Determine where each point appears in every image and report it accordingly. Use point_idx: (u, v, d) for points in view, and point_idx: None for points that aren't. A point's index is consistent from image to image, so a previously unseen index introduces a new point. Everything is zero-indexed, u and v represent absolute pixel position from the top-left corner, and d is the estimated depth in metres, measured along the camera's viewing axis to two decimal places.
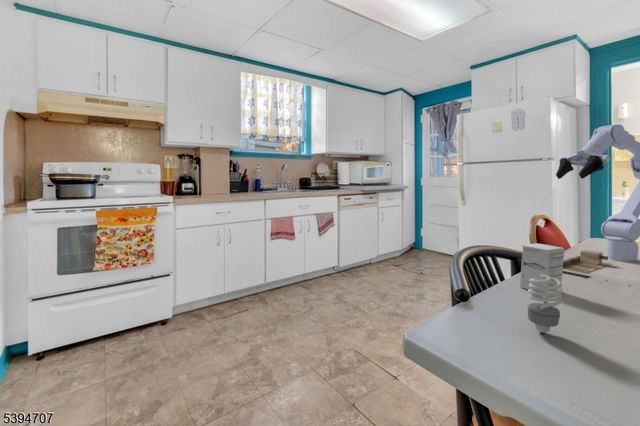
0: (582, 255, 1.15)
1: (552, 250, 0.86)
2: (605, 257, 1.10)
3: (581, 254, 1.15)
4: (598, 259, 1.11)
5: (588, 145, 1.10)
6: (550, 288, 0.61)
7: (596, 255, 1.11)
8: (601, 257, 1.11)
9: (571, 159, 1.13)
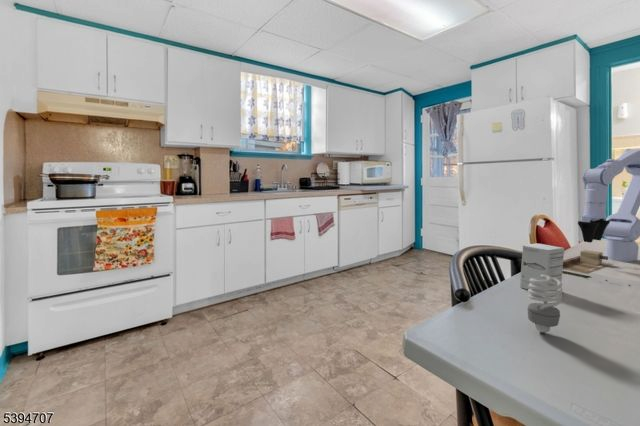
0: (582, 255, 1.15)
1: (552, 250, 0.86)
2: (605, 257, 1.10)
3: (581, 254, 1.15)
4: (598, 259, 1.11)
5: None
6: (550, 288, 0.61)
7: (596, 255, 1.11)
8: (601, 257, 1.11)
9: None
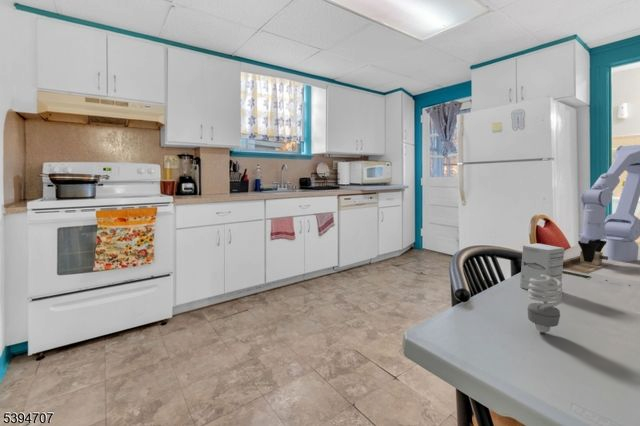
0: (582, 255, 1.15)
1: (552, 250, 0.86)
2: (605, 257, 1.10)
3: (581, 254, 1.15)
4: (598, 259, 1.11)
5: None
6: (550, 288, 0.61)
7: (596, 255, 1.11)
8: (601, 257, 1.11)
9: None
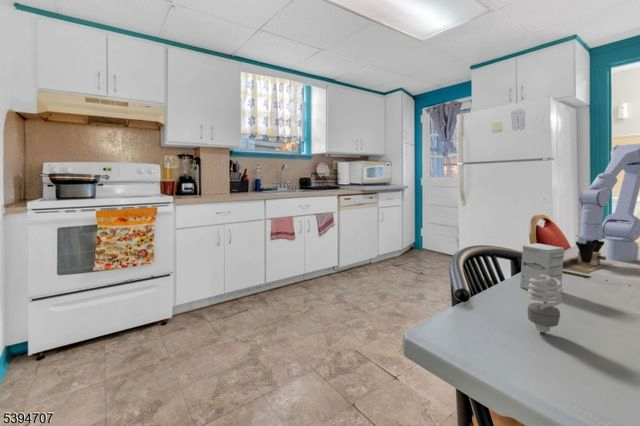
0: (580, 255, 1.14)
1: (552, 250, 0.86)
2: (603, 257, 1.09)
3: (579, 254, 1.14)
4: (596, 259, 1.10)
5: None
6: (550, 288, 0.61)
7: (594, 255, 1.10)
8: (599, 257, 1.10)
9: None
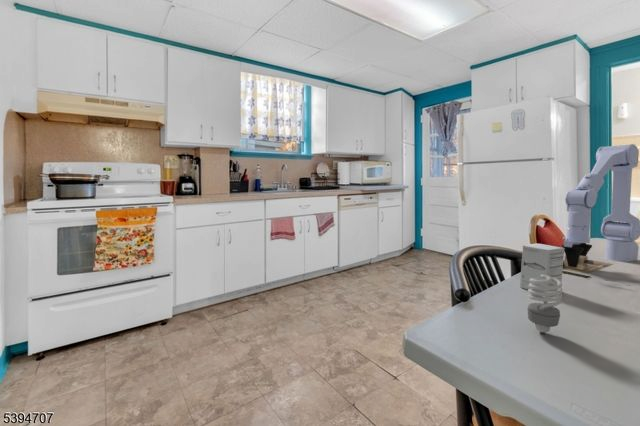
0: (566, 259, 1.08)
1: (552, 250, 0.86)
2: (590, 261, 1.04)
3: (566, 258, 1.08)
4: (583, 263, 1.05)
5: None
6: (550, 288, 0.61)
7: (581, 259, 1.05)
8: (586, 261, 1.05)
9: None
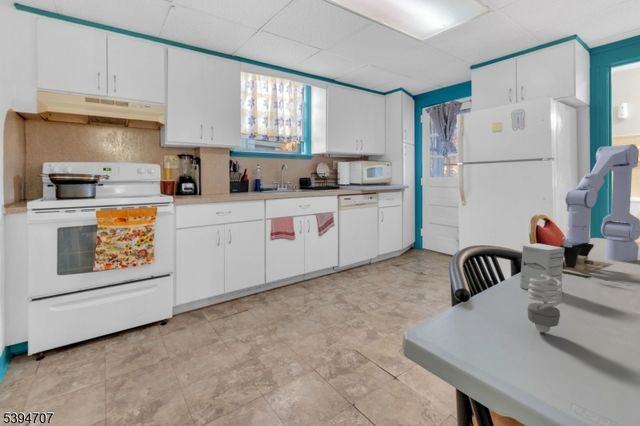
0: None
1: (552, 250, 0.86)
2: (590, 262, 1.04)
3: None
4: (583, 264, 1.05)
5: None
6: (550, 288, 0.61)
7: (581, 260, 1.05)
8: (586, 262, 1.05)
9: None
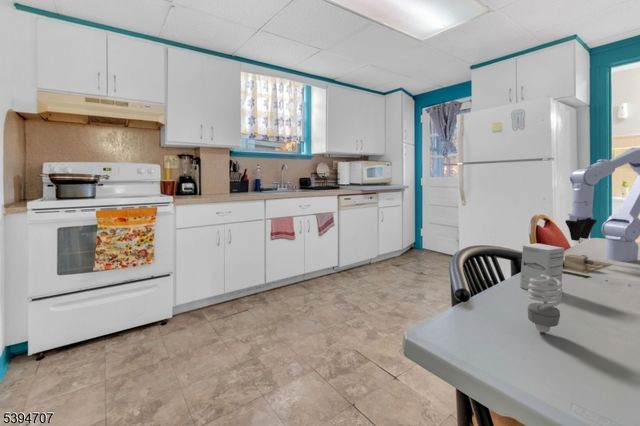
0: (566, 260, 1.08)
1: (552, 250, 0.86)
2: (590, 262, 1.04)
3: (566, 259, 1.08)
4: (583, 264, 1.05)
5: None
6: (550, 288, 0.61)
7: (581, 260, 1.05)
8: (586, 262, 1.05)
9: None
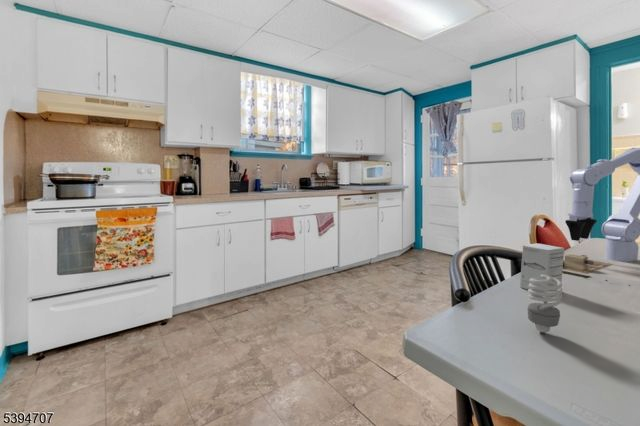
0: (566, 260, 1.08)
1: (552, 250, 0.86)
2: (590, 262, 1.04)
3: (566, 259, 1.08)
4: (583, 264, 1.05)
5: None
6: (550, 288, 0.61)
7: (581, 260, 1.05)
8: (586, 262, 1.05)
9: None
